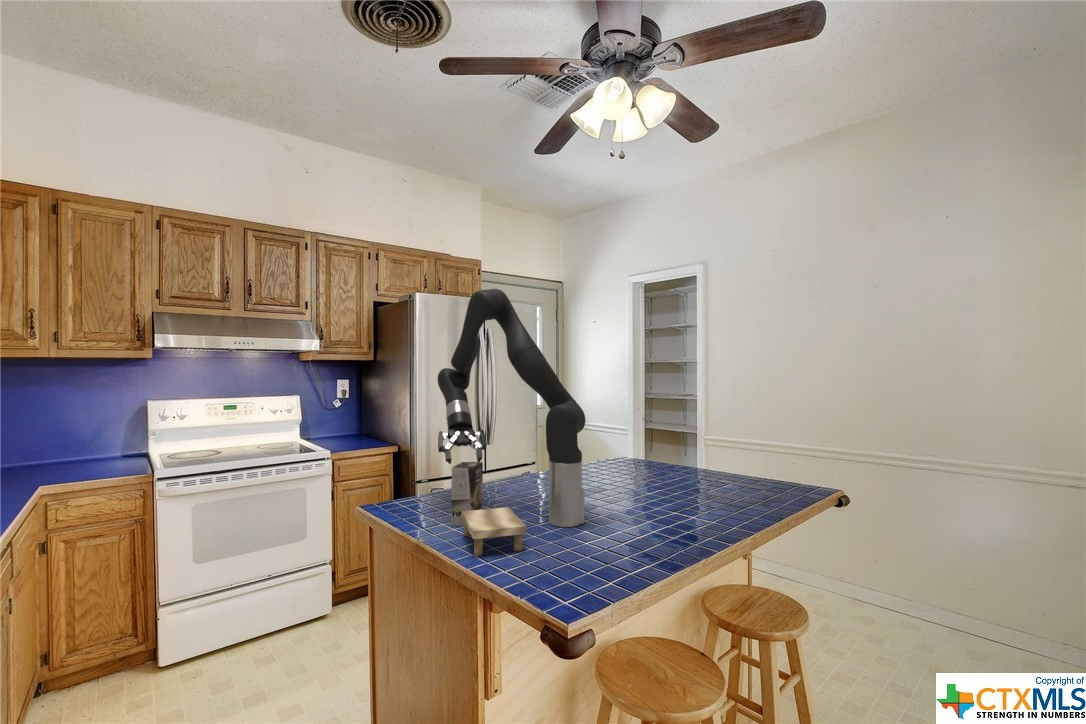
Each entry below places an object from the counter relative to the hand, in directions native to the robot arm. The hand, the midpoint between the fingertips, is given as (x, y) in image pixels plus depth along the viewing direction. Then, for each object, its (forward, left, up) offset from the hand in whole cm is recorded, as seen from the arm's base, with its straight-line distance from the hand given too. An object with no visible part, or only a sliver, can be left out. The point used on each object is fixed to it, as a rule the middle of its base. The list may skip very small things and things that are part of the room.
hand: (464, 461), depth 146 cm
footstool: (-3, +24, -16) cm, 29 cm away
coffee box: (0, +5, -16) cm, 17 cm away
